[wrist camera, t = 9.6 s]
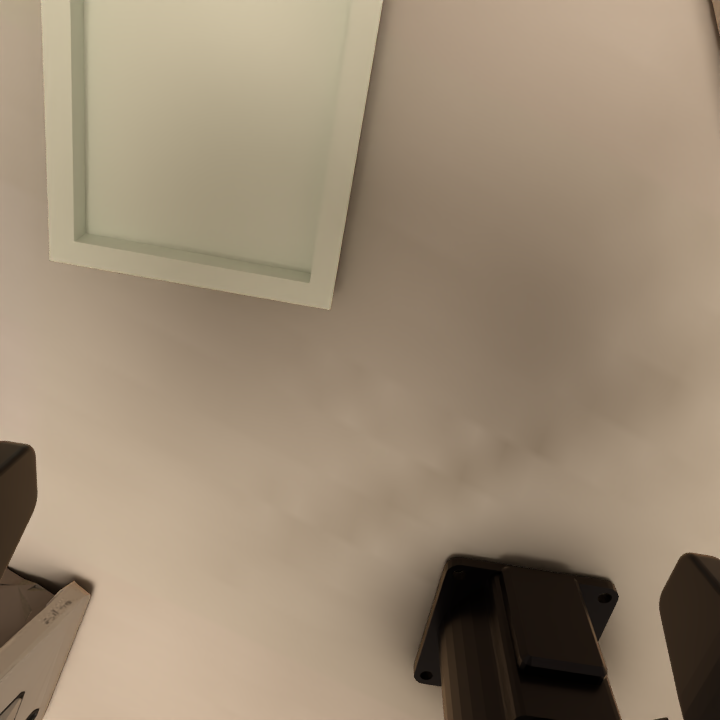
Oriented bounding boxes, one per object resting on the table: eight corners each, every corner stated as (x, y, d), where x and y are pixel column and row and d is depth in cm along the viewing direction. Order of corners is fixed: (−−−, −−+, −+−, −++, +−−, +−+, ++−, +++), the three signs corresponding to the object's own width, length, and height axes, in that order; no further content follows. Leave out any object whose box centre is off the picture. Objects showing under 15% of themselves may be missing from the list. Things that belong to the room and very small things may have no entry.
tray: (333, 293, 21) (330, 310, 20) (68, 246, 20) (49, 260, 19) (390, -46, 17) (391, -50, 15) (61, -113, 16) (36, -122, 15)
